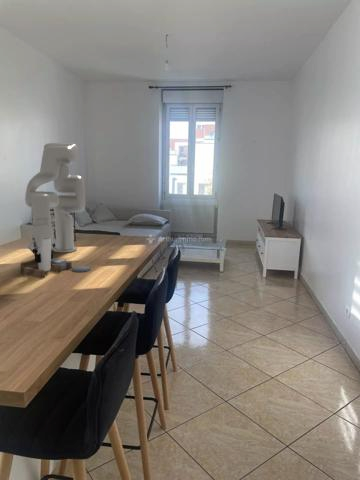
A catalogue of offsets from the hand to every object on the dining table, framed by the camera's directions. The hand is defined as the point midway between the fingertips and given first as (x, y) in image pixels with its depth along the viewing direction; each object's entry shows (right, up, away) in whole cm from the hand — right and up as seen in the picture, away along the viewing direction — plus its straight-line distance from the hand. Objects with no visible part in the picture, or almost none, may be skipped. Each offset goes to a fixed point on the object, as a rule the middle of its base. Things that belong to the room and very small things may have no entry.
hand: (44, 260), depth 160 cm
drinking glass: (0, -5, +1) cm, 5 cm away
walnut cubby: (0, -5, +4) cm, 7 cm away
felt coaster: (+15, -5, +8) cm, 17 cm away
